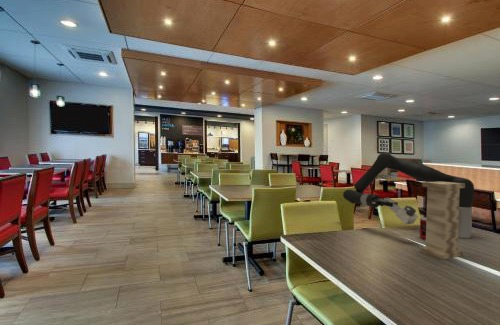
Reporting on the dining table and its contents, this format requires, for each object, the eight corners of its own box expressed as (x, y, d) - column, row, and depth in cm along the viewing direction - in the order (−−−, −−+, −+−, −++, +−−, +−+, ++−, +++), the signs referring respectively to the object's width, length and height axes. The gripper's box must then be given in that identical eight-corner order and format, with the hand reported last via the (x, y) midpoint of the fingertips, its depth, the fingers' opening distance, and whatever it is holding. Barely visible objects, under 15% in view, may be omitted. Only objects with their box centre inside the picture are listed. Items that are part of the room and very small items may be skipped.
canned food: (431, 237, 152) (431, 217, 152) (439, 241, 144) (440, 220, 144) (416, 236, 153) (417, 217, 152) (424, 240, 145) (425, 220, 145)
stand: (440, 248, 133) (442, 181, 132) (462, 255, 123) (465, 183, 122) (420, 252, 127) (422, 182, 126) (442, 259, 118) (444, 184, 117)
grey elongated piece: (388, 201, 155) (394, 191, 152) (413, 223, 141) (420, 213, 138) (380, 202, 153) (386, 192, 150) (405, 224, 139) (411, 213, 135)
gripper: (361, 194, 161) (385, 198, 145) (379, 193, 167) (404, 197, 150) (361, 206, 161) (385, 212, 145) (379, 205, 167) (404, 210, 151)
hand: (394, 204), depth 148 cm, fingers closed on grey elongated piece, 3 cm apart
